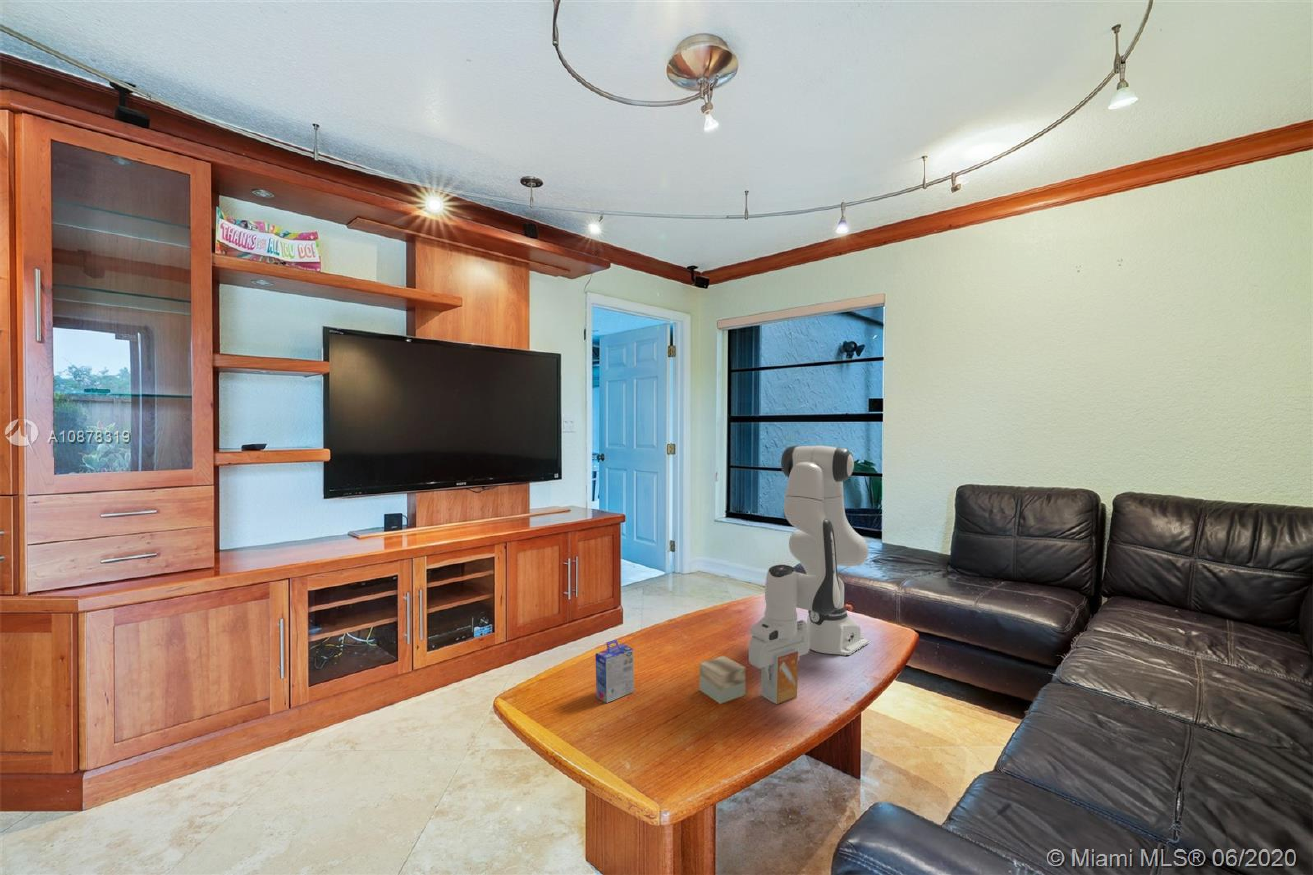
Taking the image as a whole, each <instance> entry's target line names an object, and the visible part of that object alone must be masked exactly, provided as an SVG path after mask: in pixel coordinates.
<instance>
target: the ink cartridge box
mask: <svg viewBox="0 0 1313 875" xmlns="http://www.w3.org/2000/svg"><path fill="white" fill-rule="evenodd" d="M605 643H606V649H605V650H602V651H599V652H596V653H595V687H596V688H595V690H596V691H595V692H596V697H597V698H598V699H599V700H600V701H602V702H604V703H605V704H607V703H608V704H609V702H612V701H615V700H618V699H620V698H622V697H624V696H626V695H629V694H631V693H634V691H635V689H634V688H635V680H634V675H635V674H634V672H635V670H634V649H633V647H630V646H628V645H627V644H624V643H621V644H619V643H618V640H617V639H612V640H610V641H607V642H605ZM612 644H615V645H613V646H610V645H612Z"/></svg>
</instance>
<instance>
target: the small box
mask: <svg viewBox="0 0 1313 875" xmlns="http://www.w3.org/2000/svg"><path fill="white" fill-rule="evenodd" d="M798 667H799V662H798V651H797V650H791V651H788V652H785V653H782V654H778V655H775V663H774V664H773V665H769V669H767V670H768V672H769V673H771V674H772V677H771V678H772V679H771V680H769V681H765V680H764V679H763V672H762V670H761V669H760V672H761V675H760V678H761V679H760V695H761V697H763V698H765V699H766V700H769V701H770V702H772V703H773V704H776V705H779V704H780V703H785V702H786V701H789V700H792V699H795V698H797V697H798V675H799V674H798V672H799V670H798V669H799V668H798Z"/></svg>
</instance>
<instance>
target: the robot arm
mask: <svg viewBox="0 0 1313 875" xmlns="http://www.w3.org/2000/svg"><path fill="white" fill-rule="evenodd" d="M780 464H781V465H780V466H781V471H782V473H783V474H784V475H785V477H787V478H788V479H787V484H786V489H785V493H784V501H783V513H784V517H785V519H786V521H788V523H789V524H790V525H791V526H792V527H794V528H795V529H796V530H795V531H793V532H792V533H791V536H790V537H789V539H788V540H789V541H788V549H789V552H790V553H791V556H792V557H794V559H796V560H797V561H798V562H799V563H800V564H801V566H802V567H803V569H804V571H805V572H806V573H802V572H797V571H796V569H795V568H794V567H793V566H791V565H787V564H776V565H775V564H774V565H772V566H771V567H769V568H768V570H767V573H766V577H765V585H764V601H765V609H764V615H763V617H762V618H761V619H760V620H759V621H757V622H756V623H755V624H753V625H752V626H751V627H750V628H749V634H750V635H751V637H750V639H749V644H748V662H749V664H750V665H751V666H753V667H755V668H757V669H759V670H760V671H761V670H762V672H763V679H764V680H765V681H769V680H771V679H772V678H771V677H772V674H771V673H769V672H768V670H767V669H769V665H773V664H774V663H775V655H778V654H782V653H785V652H788V651H791V650H797V651H798V663H799V661H800V658H801V656H804V655H807V654H809V652H810V650H812V651H815V652H817V653H822V654H826V655H827V654H828V655H840V656H846V655H849V656H851V655H853V654H855V653H856V652H857V651H859V650H861V649H862V648H863V647H862V646H864V647H866V646H867V645H868V644H869V640H868V639H867V638H865V637H864V636H862V633H861V632H862V630H861V626H860V625H859V624H858V622H856V621H855V620H854V619H853V618H851V617H850V616H849V615H848V612H852V610H853V605H851V604H847V603H846V604H845V584H844V582H843V580H842V579H841V578H840V577H839V576H838V567H837V566H842V567H856V566H857V567H860V566H862V565H863V564H864V563H865V562H866V561H867V559H868V556H869V545H868V543H867V540H866V539H865V538H864V537H863V536H862V535H860V534H859V533H858V532H857V531H856V530H855V529H854V528H853V527H852V526H851V524H850V523H849V521H848V518H847V516H846V511H845V503H844V502H845V501H844V498H845V497H844V483H843V482H845V481H847V480H849V479H850V478H851V476H852V474H853V471H854V468H855V462H854V458H853V454H852V452H851V451H850V450H849V449H848V448H844V447H840V446H837V447H835V446H830V445H829V446H828V445H802V446H801V445H800V446H799V445H792V446H788V447H786V448H785V450H783V452H782V455H781V462H780ZM797 608H798V609H800V610H804V611H805V610H806V611H807V613H808V615H807V617H806V621H805V620H803V619H799V620H798V613H797ZM866 644H867V645H866ZM865 645H866V646H865ZM861 647H862V648H861ZM860 648H861V649H860ZM858 649H859V650H858ZM856 650H857V651H856ZM855 651H856V652H855ZM852 653H853V654H852Z"/></svg>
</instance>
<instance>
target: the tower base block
mask: <svg viewBox="0 0 1313 875" xmlns="http://www.w3.org/2000/svg"><path fill="white" fill-rule="evenodd" d="M699 691H701V692H702V693H704V695H706V696H708V697H710V698H711V699H712V700H714V701H715V702H717V703H718V704H719V705H721V704H724V703H727V702H729V701H733V700H735V699H738V698H740V697H743V696H745V695H746V681H745V682H743V683H740V684H737V685H734V686H732V687H729V688H726V689H723V690H719V689H718V688H716V687H714V686H713V685H711V684H710V683H708V682H706V681H705V680H703V679H702V678H700V677H699Z"/></svg>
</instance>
